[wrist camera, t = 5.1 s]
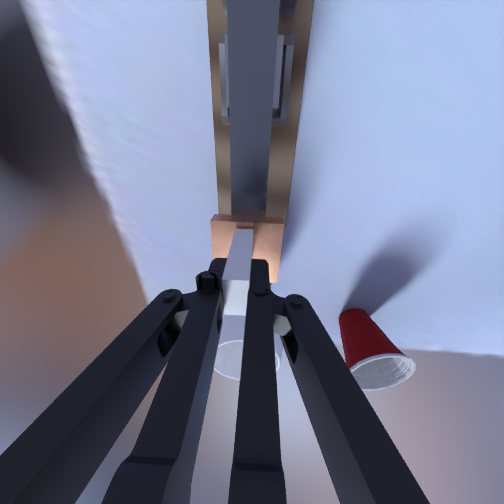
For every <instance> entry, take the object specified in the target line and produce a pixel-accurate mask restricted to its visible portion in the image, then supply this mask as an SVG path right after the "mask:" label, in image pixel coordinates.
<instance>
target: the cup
mask: <svg viewBox="0 0 504 504" xmlns="http://www.w3.org/2000/svg"><path fill="white" fill-rule="evenodd" d="M222 317H223V323H222V328H221V334H220V339H219V344H218V349H217V354H216V359H215V364H214V369H215V370H216V371H217V372H219V373H220V374H222V375H224V376H226V377H228V378H232V379H235V380H240V375H241V363H242V352H243V340H244V329H245V318H246V316H243V315H224V311H223V316H222ZM274 346H275V363H276V371H277V370H278V368H279V366H280V362H281V356H282V350H283V344H282V341H281V338H280V335H279V334H276V333H274Z"/></svg>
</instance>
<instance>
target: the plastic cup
mask: <svg viewBox="0 0 504 504" xmlns="http://www.w3.org/2000/svg"><path fill="white" fill-rule="evenodd" d="M339 325H340V330H341V332H340V333H341V338H342V343H343V348H344V353H345V358H346V359H345V360H346V365H347V366H348V368H349V370H350V371H351V373H352V375H353V376H354V378H355V380H356V381H357V383H358V385H359V386H360V388H361V390H378V389H384V388H388V387H391V386H394V385H396V384H399V383H401V382H403V381H404V380H406V379H407V378H409V377H410V376H411V375H412V374H413V372H414V371H415V367H416V364H415V363H414V362H413V360H412V359H411V358H410V357H408V356H406V355H404V354H403V353H402V352H401V351H400V350H399V349H398V348H397V347H396V346H395V345H394V344H393V343H392V342H391V341H390V340H389V338H388V337H387V336H386V335H385V334H384V333H383V331H382V330H381V329H380V328H379V327H378V325H377V324H376V323H375V322H374V321H373V320H372V319H371V318H370V316H369V315H368V314H367V313H366V312H365V311H364V310H361V309H349V310H347V311H345V312H343V313H342V314H341V315H340V317H339Z"/></svg>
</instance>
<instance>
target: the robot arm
mask: <svg viewBox="0 0 504 504" xmlns="http://www.w3.org/2000/svg"><path fill="white" fill-rule="evenodd" d="M252 257H253V229H235V231H234V235H233V239H232V243H231V246H230V250H229V254H228V258H215V259H214V260H213V261H212V262H211V264H210V267H209V270H208V271H204V272H201V273H200V274H198V275H197V276H196V284H197V291H195V292H192V293H187V294H182V293H181V292H180V291H179V290H177V289H169V290H165V291H163V292H161V293H160V294H159V295H158V296H157V297H156V298H155V299H154V300H153V301H152V302H151V303H150V304H149V305H148V306H147V307H146V308H145V309H144V310H143V311H142V312H141V313H140V314H139V315H138V316H137V317H136V318H135V319H134V320H133V321H132V322H131V323H130V324H129V325H128V326H127V327H126V328H125V329H124V330H123V331H122V332H121V333H120V335H118V336H117V337H116V338H115V339H114V341H112V343H111V344H110V345H109V346H108V347H107V348H106V349H105V350H104V351H103V352H102V353H101V354H100V355H99V356H98V357H97V358H96V359H95V360H94V361H93V362H92V363H91V364H90V365H89V366H88V367H87V368H86V369H85V370H84V371H83V372H82V373H81V374H80V375H79V376H78V377H77V378H76V379H75V380H74V381H73V382H72V383H71V384H70V385H69V387H67V388H66V389H65V390H64V391H63V392H62V393H61V394H60V395H59V396H58V397H57V398H56V399H55V400H54V402H53V403H52V404H51V405H50V406H49V407H48V408H47V409H46V410H45V411H44V412H43V413H42V414H41V415H40V416H39V417H38V418H37V419H36V420H35V421H34V422H33V423H32V424H31V425H30V426H29V427H28V428H27V429H26V430H25V431H24V432H23V433H22V434H21V435H20V436H19V437H18V438H17V439H16V440H15V441H14V442H13V443H12V444H11V445H10V446H9V447H8V448H7V449H6V450H5V451H4V452H3V453H2V454H1V455H0V504H75V502H76V501H77V499H78V498H79V496H80V495H81V493H82V492H83V490H84V489H85V487H86V485H87V484H88V483H89V481H90V480H91V478H92V477H93V475H94V473H95V472H96V470H97V469H98V467H99V466H100V464H101V463H102V461H103V460H104V458H105V457H106V455H107V454H108V452H109V451H110V449H111V447H112V446H113V445H114V443H115V441H116V440H117V438H118V437H119V435H120V434H121V432H122V431H123V429H124V428H125V426H126V425H127V423H128V422H129V420H130V418H131V417H132V416H133V414H134V413H135V411H136V409H137V408H138V406H139V405H140V403H141V402H142V400H143V399H144V397H145V396H146V394H147V393H148V391H149V390H150V388H151V387H152V385H153V383H154V382H155V380H156V379H157V377H158V376H159V374H160V373H161V371H162V370H163V368H164V367H165V365H166V364H167V362H168V364H167V366H166V369H165V371H164V374H163V376H162V379H161V381H160V384H159V386H158V389H157V392H156V394H155V396H154V399H153V401H152V404H151V406H150V409H149V411H148V414H147V416H146V419H145V421H144V424H143V426H142V429H141V432H140V434H139V437H138V439H137V441H136V444H135V446H134V448H133V451H132V452H131V454H130V455H129V456H128V457H127V458H126V459H125V460H124V461H123V462H122V463H121V464H120V466H119V467H118V469H117V470H116V473H115V474H114V476H113V478H112V481H111V483H110V485H109V487H108V489H107V492H106V494H105V497H104V499H103V501H102V504H190V495H191V482H192V475H193V470H194V465H195V460H196V455H197V450H198V445H199V440H200V435H201V430H202V424H203V420H204V415H205V409H206V404H207V399H208V394H209V389H210V384H211V379H212V374H213V369H214V364H215V359H216V354H217V349H218V344H219V339H220V334H221V328H222V323H223V317H222V316H223V311H224V315H243V316H246V318H245V329H244V340H243V352H242V363H241V375H240V386H239V397H238V409H237V420H236V432H235V443H234V455H233V464H232V469H231V478H230V488H229V499H228V504H287V503H286V489H285V479H284V472H283V468H282V462H281V450H280V433H279V415H278V398H277V381H276V363H275V346H274V333H276V334H279V335H280V338H281V341H282V344H283V347H284V349H285V352H286V355H287V358H288V360H289V363H290V366H291V369H292V371H293V374H294V377H295V380H296V383H297V385H298V388H299V391H300V394H301V396H302V399H303V402H304V405H305V407H306V410H307V413H308V416H309V419H310V421H311V424H312V427H313V430H314V432H315V435H316V438H317V441H318V444H319V446H320V449H321V452H322V455H323V457H324V460H325V463H326V466H327V468H328V471H329V474H330V477H331V480H332V482H333V485H334V488H335V490H336V493H337V496H338V499H339V501H340V504H430V503H429V501H428V500H427V498H426V496H425V495H424V493H423V491H422V490H421V488H420V486H419V485H418V483H417V481H416V480H415V478H414V476H413V475H412V473H411V471H410V470H409V468H408V466H407V465H406V463H405V461H404V460H403V458H402V456H401V455H400V453H399V451H398V450H397V448H396V446H395V445H394V443H393V441H392V440H391V438H390V436H389V435H388V433H387V431H386V430H385V428H384V426H383V425H382V423H381V421H380V420H379V418H378V416H377V415H376V413H375V411H374V410H373V408H372V406H371V405H370V403H369V401H368V400H367V398H366V396H365V395H364V393H363V391H362V390H361V388H360V386H359V385H358V383H357V381H356V380H355V378H354V376H353V375H352V373H351V371H350V370H349V368H348V366H347V365H346V363H345V362H344V360H343V358H342V356H341V355H340V353H339V351H338V350H337V348H336V347H335V345H334V343H333V341H332V340H331V338H330V336H329V335H328V333H327V331H326V330H325V328H324V326H323V325H322V323H321V321H320V320H319V318H318V316H317V315H316V313H315V311H314V310H313V308H312V306H311V305H310V303H309V301H308V300H307V299H306V298H305V297H303V296H301V295H298V294H292V295H288V296H287V297H286V298H282V297H279V296H277V295H275V294H274V293H273V292H272V291H271V289H270V278H269V263H268V262H267V261H266V259H252Z"/></svg>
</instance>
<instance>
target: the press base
mask: <svg viewBox="0 0 504 504" xmlns="http://www.w3.org/2000/svg"><path fill="white" fill-rule="evenodd" d="M206 1H207V18H208V35H209V52H210V69H211V86H212V103H213V120H214V138H215V155H216V172H217V189H218V206H219V214H222V215H231V172H230V124H229V108H228V107H226V74H225V36H224V34H228V28H227V0H206ZM313 3H314V0H280V6H279V21H278V35H284V42H283V55H282V67H281V80H280V93H279V106H278V110H273V111H272V126H271V141H270V156H269V171H268V186H267V201H266V217H283V221H284V227H285V226H286V218H287V210H288V202H289V194H290V186H291V178H292V170H293V162H294V154H295V146H296V138H297V130H298V122H299V114H300V106H301V98H302V90H303V82H304V74H305V66H306V59H307V51H308V43H309V35H310V27H311V19H312V11H313Z"/></svg>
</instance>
